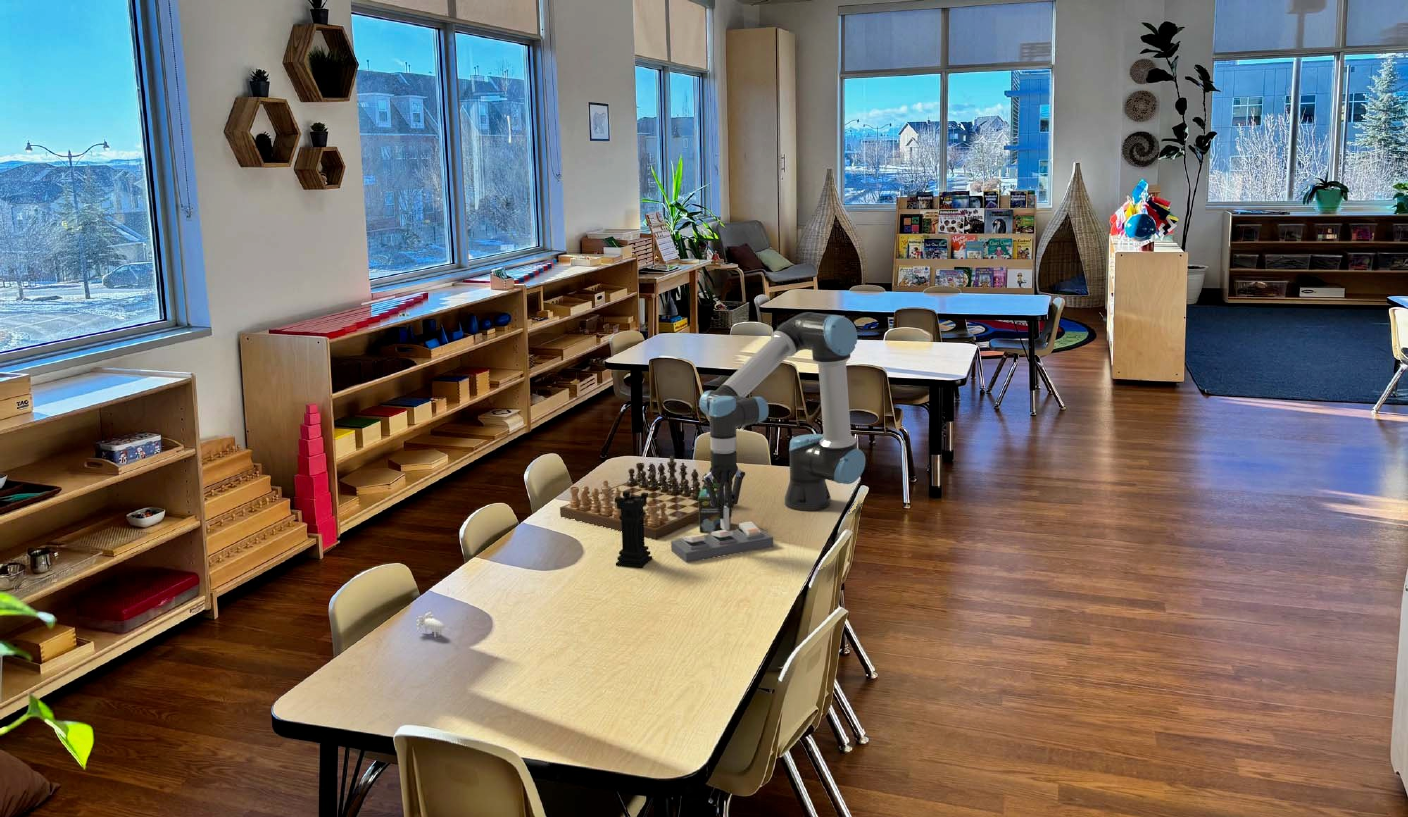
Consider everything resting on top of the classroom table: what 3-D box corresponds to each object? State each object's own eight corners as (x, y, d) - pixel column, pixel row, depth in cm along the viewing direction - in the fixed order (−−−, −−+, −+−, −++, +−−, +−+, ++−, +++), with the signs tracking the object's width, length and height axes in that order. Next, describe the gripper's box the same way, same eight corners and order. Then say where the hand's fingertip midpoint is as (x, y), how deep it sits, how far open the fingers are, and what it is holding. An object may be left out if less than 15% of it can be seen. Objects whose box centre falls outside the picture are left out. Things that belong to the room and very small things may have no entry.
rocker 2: (750, 524, 334) (751, 520, 333) (760, 534, 328) (760, 531, 328) (738, 526, 332) (739, 523, 331) (748, 536, 327) (748, 533, 326)
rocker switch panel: (756, 535, 338) (756, 523, 337) (773, 546, 328) (773, 534, 327) (671, 550, 327) (670, 538, 326) (686, 562, 317) (686, 550, 316)
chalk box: (731, 523, 350) (730, 478, 346) (728, 533, 341) (727, 486, 338) (701, 523, 351) (700, 477, 347) (698, 532, 342) (697, 486, 339)
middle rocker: (723, 533, 330) (723, 529, 330) (732, 535, 324) (732, 531, 324) (711, 535, 329) (711, 531, 329) (720, 537, 323) (720, 533, 323)
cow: (412, 633, 274) (410, 615, 273) (429, 626, 278) (428, 608, 277) (444, 645, 267) (442, 627, 266) (461, 638, 271) (459, 619, 270)
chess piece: (652, 558, 321) (649, 492, 316) (641, 568, 313) (639, 500, 309) (626, 556, 323) (624, 490, 319) (615, 565, 316) (612, 498, 312)
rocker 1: (696, 538, 327) (695, 534, 327) (704, 540, 321) (704, 536, 321) (683, 540, 325) (683, 536, 325) (692, 542, 319) (691, 538, 319)
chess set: (656, 541, 336) (654, 494, 333) (560, 518, 360) (558, 474, 357) (732, 506, 367) (732, 463, 364) (640, 487, 391) (638, 446, 388)
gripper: (738, 444, 325) (739, 521, 330) (697, 450, 319) (699, 528, 325) (749, 450, 318) (750, 529, 323) (708, 456, 313) (710, 536, 318)
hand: (724, 528), depth 324 cm, fingers closed
